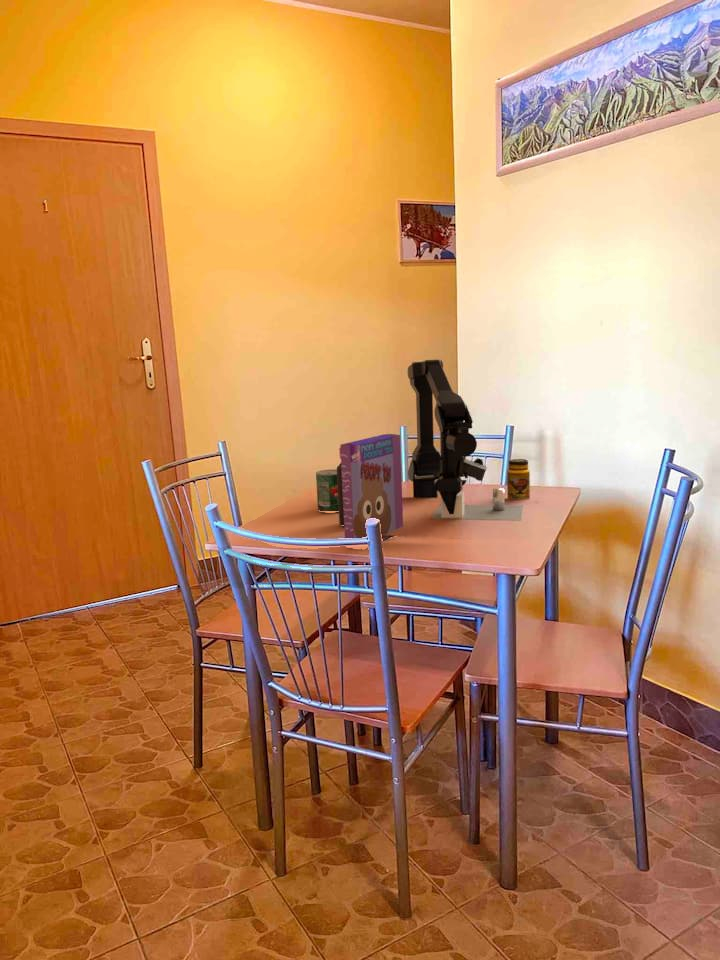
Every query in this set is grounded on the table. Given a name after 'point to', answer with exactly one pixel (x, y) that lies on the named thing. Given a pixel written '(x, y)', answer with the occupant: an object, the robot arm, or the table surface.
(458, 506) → the cream colored cube
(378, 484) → the cereal box
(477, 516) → the base plate
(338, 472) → the bottle
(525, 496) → the condiment
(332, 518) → the table surface
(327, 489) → the canned tomato
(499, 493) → the post
